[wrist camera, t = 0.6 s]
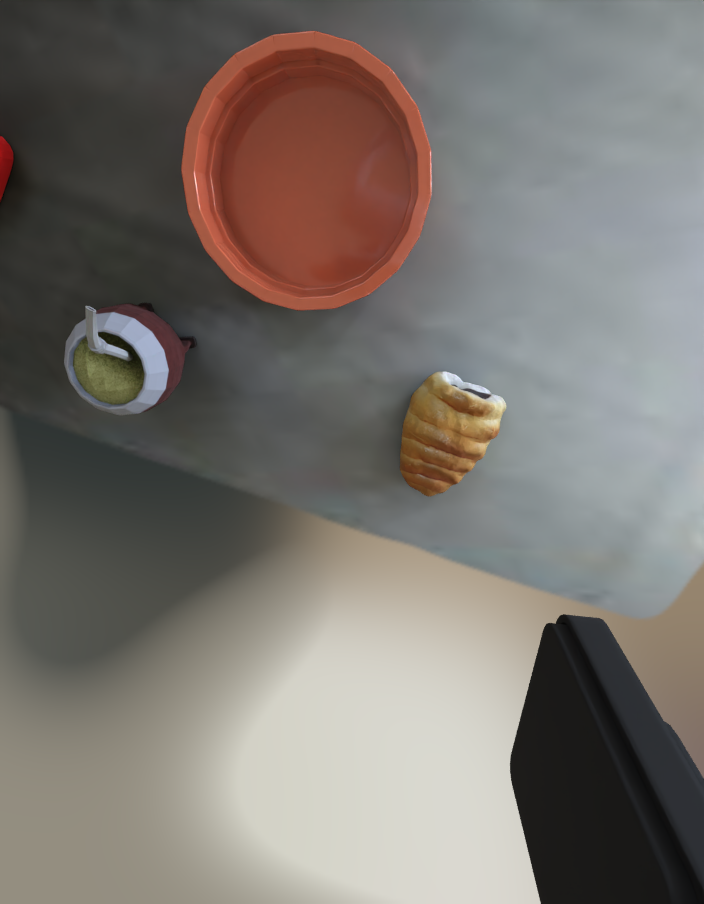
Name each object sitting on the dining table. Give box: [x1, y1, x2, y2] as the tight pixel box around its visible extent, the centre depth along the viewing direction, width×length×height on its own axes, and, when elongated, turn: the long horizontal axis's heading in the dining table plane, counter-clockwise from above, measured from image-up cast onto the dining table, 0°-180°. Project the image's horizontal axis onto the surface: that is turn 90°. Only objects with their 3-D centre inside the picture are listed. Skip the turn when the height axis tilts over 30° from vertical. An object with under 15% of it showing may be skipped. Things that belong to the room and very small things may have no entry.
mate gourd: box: [64, 303, 196, 415], centre depth 35 cm, size 8×8×15 cm
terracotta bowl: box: [181, 31, 432, 311], centre depth 35 cm, size 15×15×5 cm
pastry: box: [400, 372, 506, 496], centre depth 41 cm, size 9×7×4 cm
